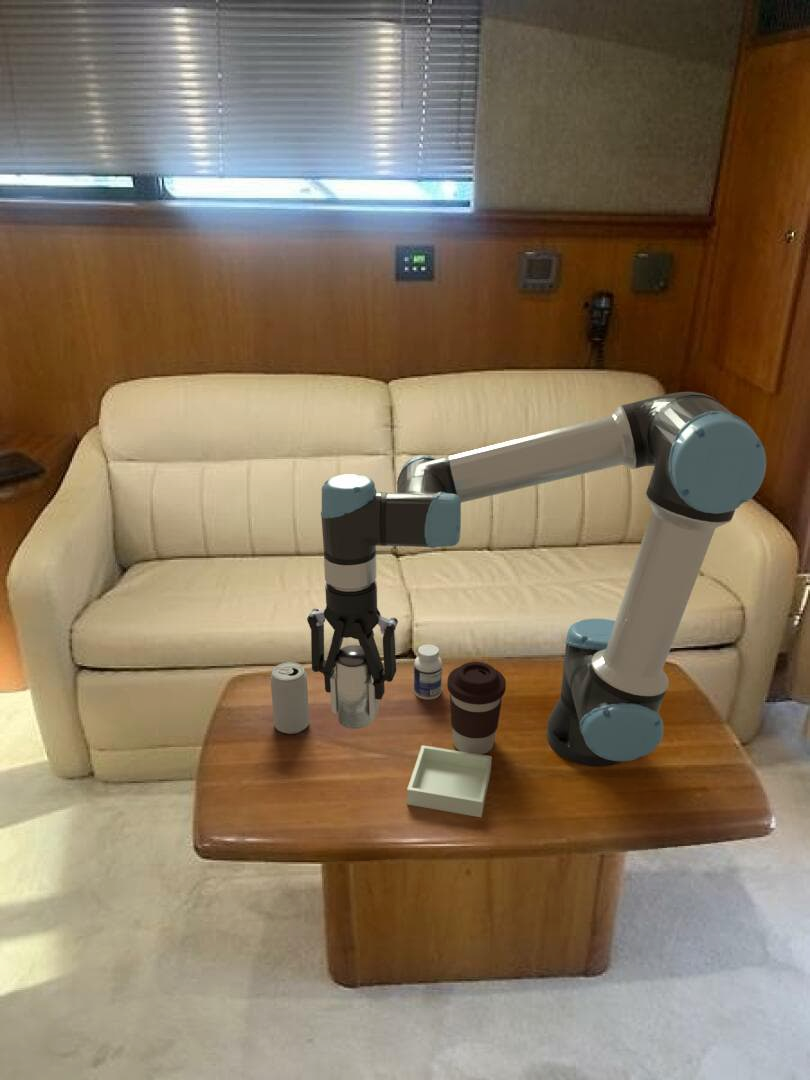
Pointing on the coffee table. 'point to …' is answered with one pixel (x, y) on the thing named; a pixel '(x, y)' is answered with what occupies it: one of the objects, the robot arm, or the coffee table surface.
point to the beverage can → (290, 697)
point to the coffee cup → (475, 706)
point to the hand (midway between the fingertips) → (355, 710)
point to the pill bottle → (428, 672)
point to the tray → (450, 781)
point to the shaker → (353, 687)
